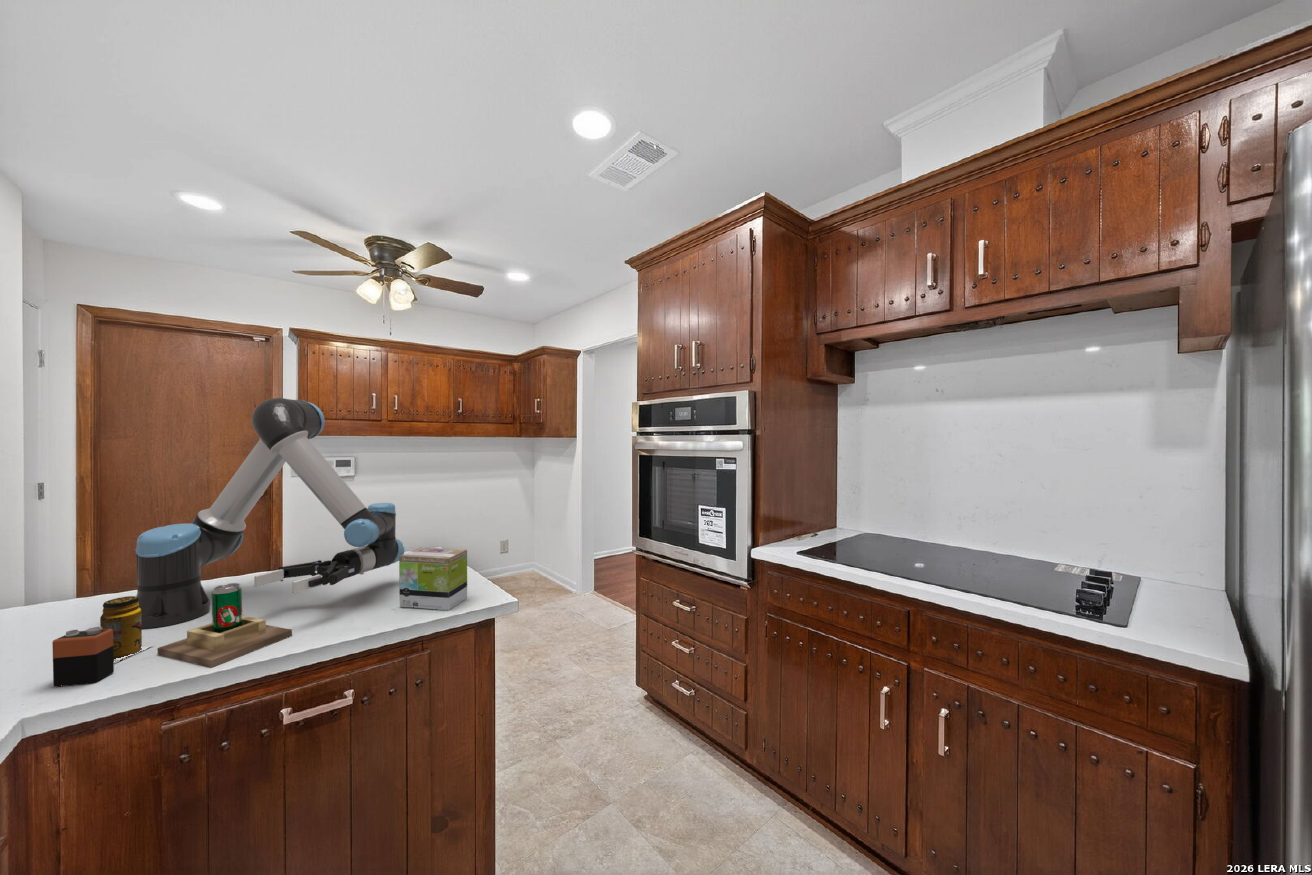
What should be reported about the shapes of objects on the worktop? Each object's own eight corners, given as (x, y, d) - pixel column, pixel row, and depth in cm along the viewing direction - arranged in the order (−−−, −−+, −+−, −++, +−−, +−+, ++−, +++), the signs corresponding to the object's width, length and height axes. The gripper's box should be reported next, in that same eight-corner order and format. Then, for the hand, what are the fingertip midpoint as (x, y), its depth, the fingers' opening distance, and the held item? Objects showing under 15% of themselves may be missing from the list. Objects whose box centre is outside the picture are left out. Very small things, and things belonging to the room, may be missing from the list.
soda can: (224, 634, 111) (224, 582, 111) (248, 633, 112) (247, 582, 112) (206, 643, 106) (205, 590, 106) (230, 642, 107) (229, 589, 107)
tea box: (398, 608, 131) (397, 555, 131) (421, 596, 141) (420, 546, 141) (449, 611, 129) (448, 556, 129) (468, 598, 139) (468, 547, 139)
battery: (96, 683, 93) (94, 632, 93) (51, 688, 91) (50, 635, 91) (115, 672, 97) (114, 623, 97) (73, 676, 95) (72, 626, 95)
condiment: (153, 646, 108) (152, 594, 108) (112, 665, 100) (111, 608, 100) (120, 647, 108) (119, 594, 108) (76, 665, 100) (75, 608, 100)
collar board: (157, 654, 104) (157, 634, 104) (241, 626, 120) (240, 608, 120) (211, 667, 99) (211, 645, 99) (292, 635, 114) (291, 617, 114)
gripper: (385, 579, 135) (310, 605, 115) (321, 570, 143) (240, 593, 123) (385, 553, 135) (310, 574, 114) (321, 545, 143) (240, 564, 122)
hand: (273, 584), depth 118 cm, fingers open, 13 cm apart
